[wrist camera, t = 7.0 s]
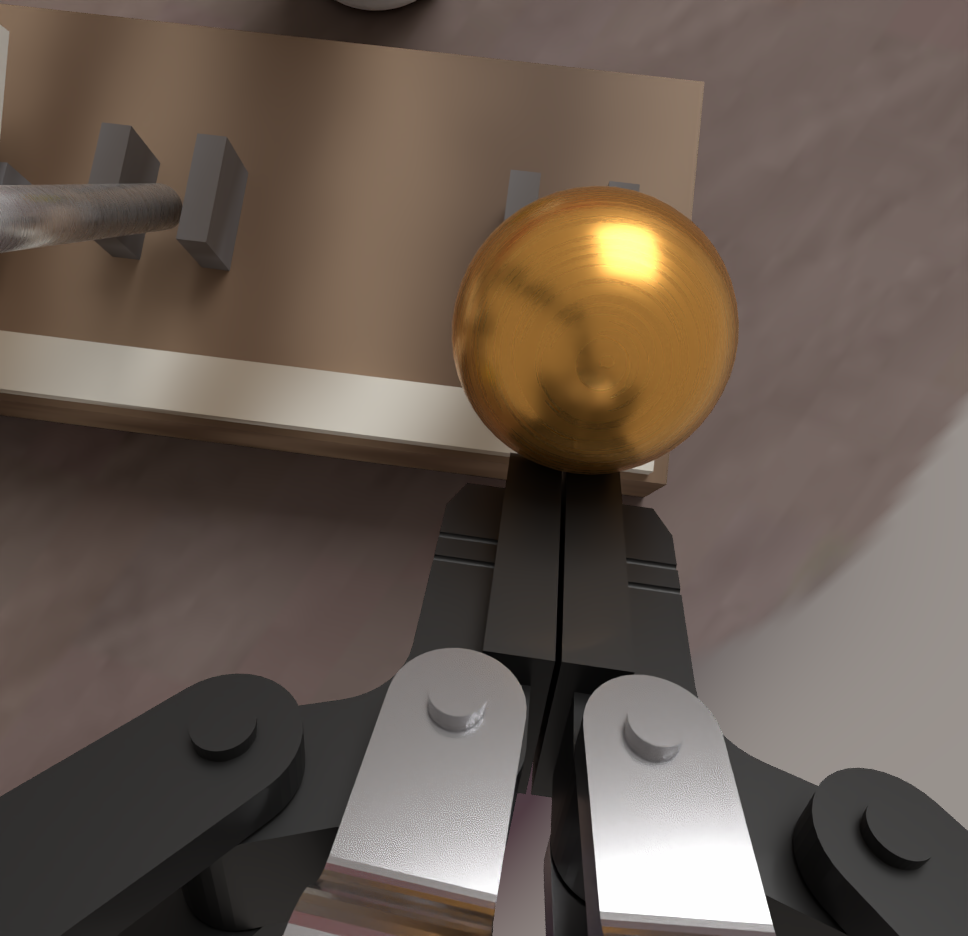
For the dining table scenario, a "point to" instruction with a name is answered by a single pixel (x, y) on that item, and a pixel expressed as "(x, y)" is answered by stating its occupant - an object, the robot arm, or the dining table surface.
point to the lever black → (83, 212)
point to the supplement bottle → (375, 4)
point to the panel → (294, 227)
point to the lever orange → (595, 330)
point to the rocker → (3, 65)
